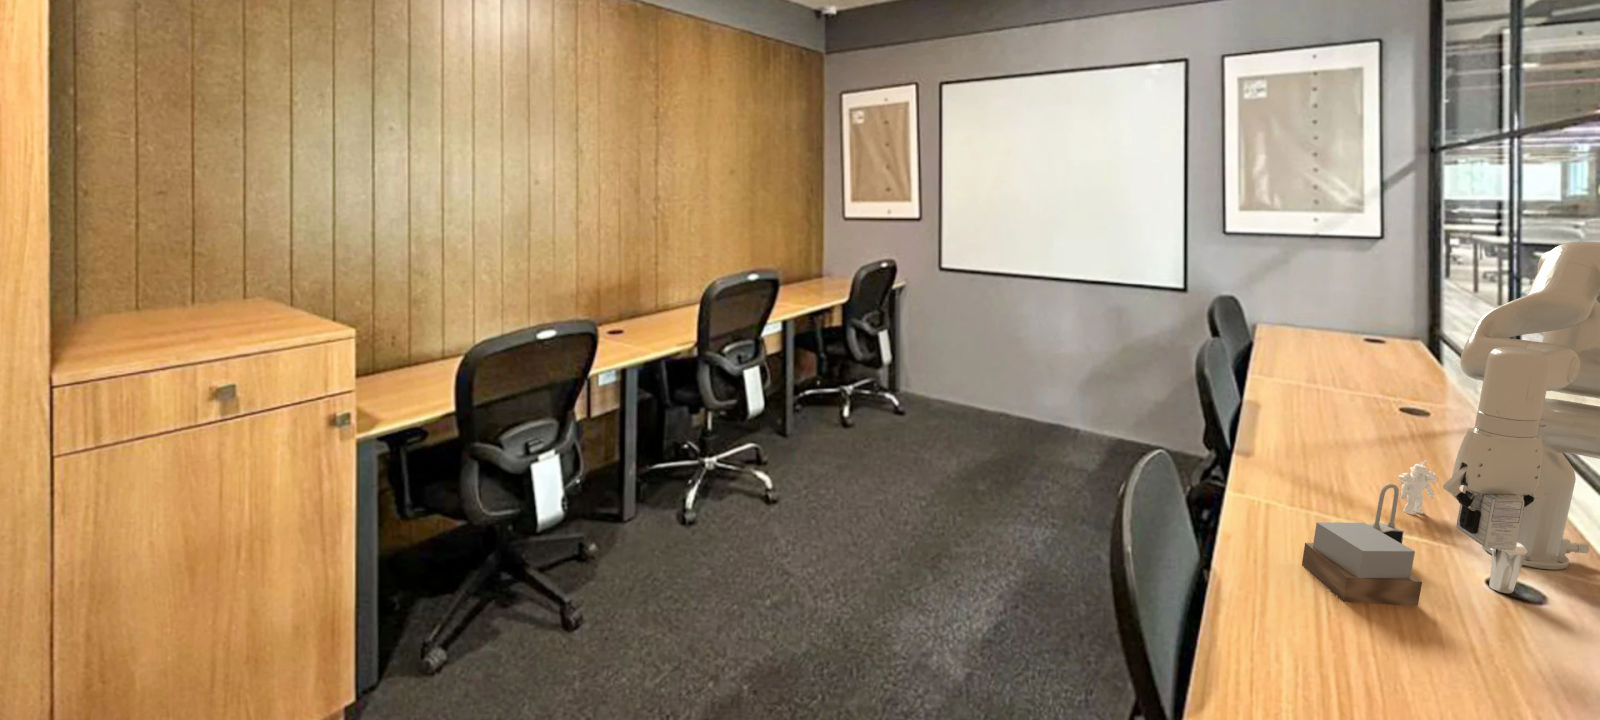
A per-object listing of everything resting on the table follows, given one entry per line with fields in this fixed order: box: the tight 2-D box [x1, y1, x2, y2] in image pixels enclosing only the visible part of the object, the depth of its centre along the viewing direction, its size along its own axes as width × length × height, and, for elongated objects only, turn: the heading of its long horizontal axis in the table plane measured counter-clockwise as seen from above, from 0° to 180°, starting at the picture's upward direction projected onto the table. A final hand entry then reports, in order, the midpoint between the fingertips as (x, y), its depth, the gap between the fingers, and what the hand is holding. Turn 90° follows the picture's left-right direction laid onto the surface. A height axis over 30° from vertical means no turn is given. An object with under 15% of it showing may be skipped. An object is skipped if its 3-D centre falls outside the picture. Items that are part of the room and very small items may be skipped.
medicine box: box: [1455, 485, 1524, 550], centre depth 128 cm, size 8×4×9 cm, turn 168°
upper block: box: [1312, 521, 1416, 578], centre depth 140 cm, size 9×12×5 cm
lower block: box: [1301, 542, 1423, 607], centre depth 141 cm, size 12×14×5 cm
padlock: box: [1368, 483, 1404, 544], centre depth 151 cm, size 7×4×15 cm, turn 101°
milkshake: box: [1488, 542, 1527, 594], centre depth 139 cm, size 5×5×10 cm
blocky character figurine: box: [1398, 458, 1439, 516], centre depth 174 cm, size 9×4×12 cm, turn 102°
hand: (1486, 529), depth 129 cm, fingers closed on medicine box, 4 cm apart
